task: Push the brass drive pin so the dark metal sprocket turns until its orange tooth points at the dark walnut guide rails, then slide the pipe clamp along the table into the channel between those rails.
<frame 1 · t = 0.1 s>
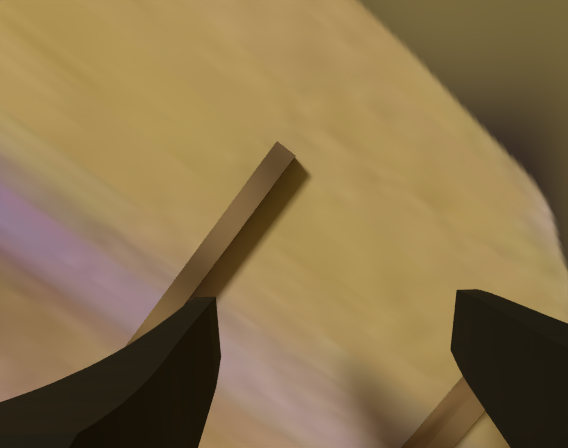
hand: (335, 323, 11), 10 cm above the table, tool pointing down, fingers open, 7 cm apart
guide rails: (309, 361, 22), on the table
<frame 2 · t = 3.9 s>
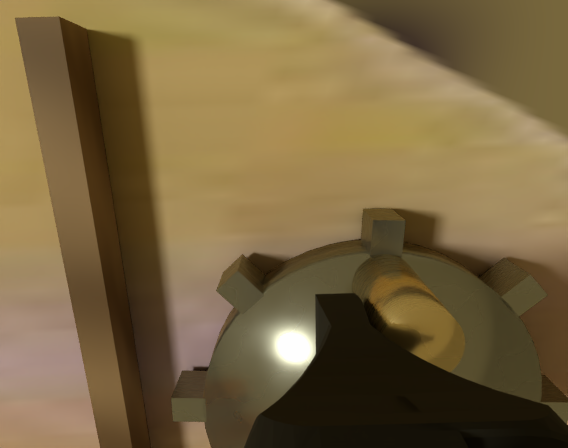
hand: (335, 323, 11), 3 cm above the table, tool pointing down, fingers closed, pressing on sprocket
sprocket: (377, 434, 13), point 3 cm above the table, hinge at -2.4°, touching gripper
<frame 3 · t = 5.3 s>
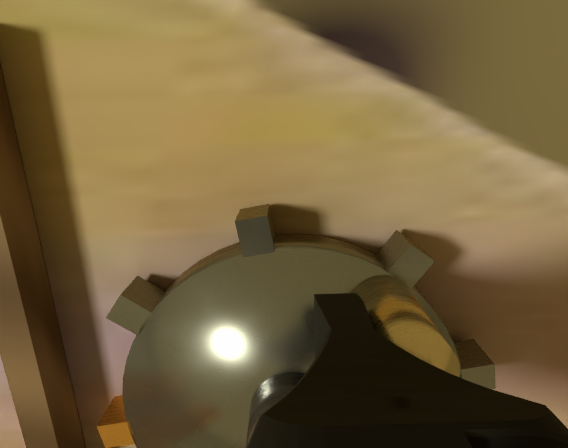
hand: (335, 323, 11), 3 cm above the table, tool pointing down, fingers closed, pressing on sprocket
sprocket: (293, 430, 12), point 3 cm above the table, hinge at -36.1°, touching gripper
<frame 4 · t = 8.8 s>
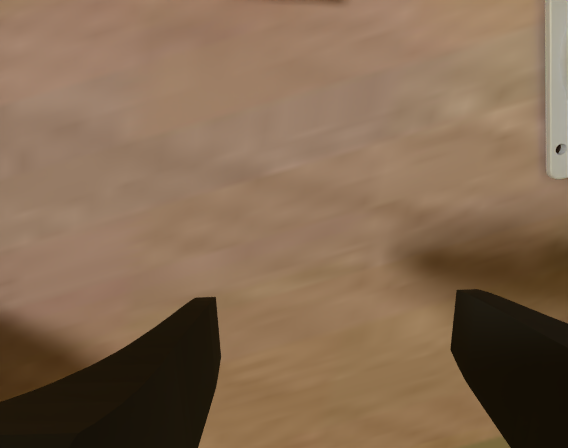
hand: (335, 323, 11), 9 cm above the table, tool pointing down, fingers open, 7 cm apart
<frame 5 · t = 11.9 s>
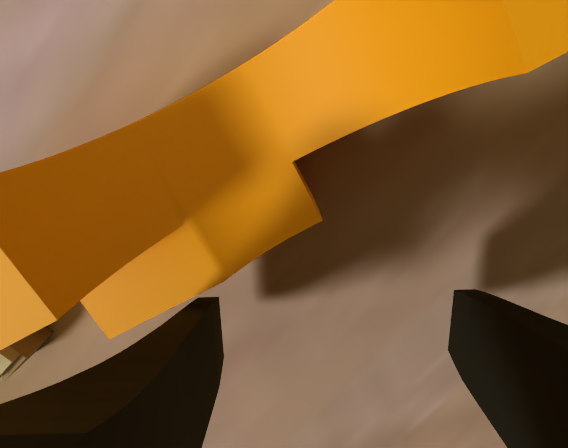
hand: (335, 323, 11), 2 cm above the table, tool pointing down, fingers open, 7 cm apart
pipe clamp: (271, 147, 12), on the table, touching gripper
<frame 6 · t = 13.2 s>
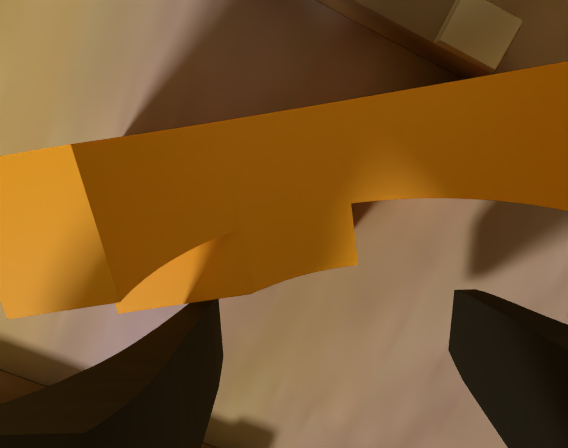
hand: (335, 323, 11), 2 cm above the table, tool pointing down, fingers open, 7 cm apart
guide rails: (94, 192, 12), on the table
pipe clamp: (321, 175, 12), on the table, touching gripper
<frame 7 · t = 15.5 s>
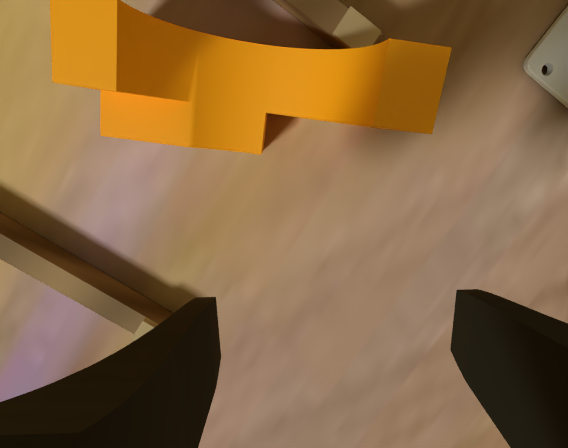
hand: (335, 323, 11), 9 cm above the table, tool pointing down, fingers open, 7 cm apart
guide rails: (103, 98, 18), on the table
pipe clamp: (259, 103, 18), on the table
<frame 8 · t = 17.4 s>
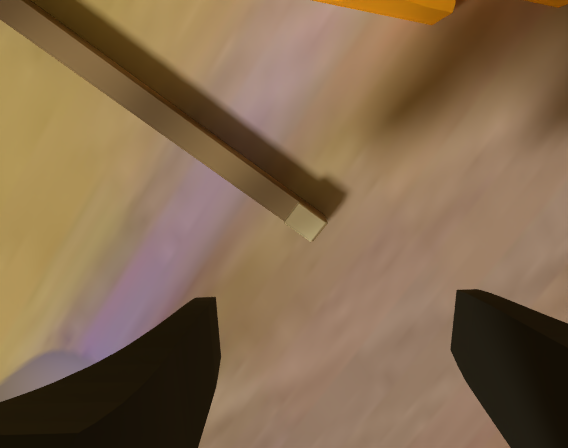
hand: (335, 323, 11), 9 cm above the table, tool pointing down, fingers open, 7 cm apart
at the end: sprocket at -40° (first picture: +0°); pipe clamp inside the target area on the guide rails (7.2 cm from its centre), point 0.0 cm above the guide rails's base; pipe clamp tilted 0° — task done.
